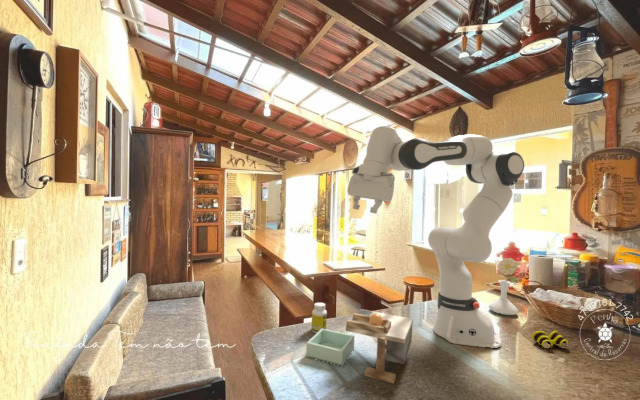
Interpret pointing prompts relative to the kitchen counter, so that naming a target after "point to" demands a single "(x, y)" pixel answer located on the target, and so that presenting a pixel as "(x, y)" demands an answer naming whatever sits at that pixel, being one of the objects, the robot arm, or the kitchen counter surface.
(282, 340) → the kitchen counter surface
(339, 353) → the green square tray
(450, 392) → the kitchen counter surface
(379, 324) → the ball
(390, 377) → the lever stand
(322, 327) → the supplement bottle
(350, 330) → the lever
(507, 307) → the flower in vase
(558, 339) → the yellow black striped piece
